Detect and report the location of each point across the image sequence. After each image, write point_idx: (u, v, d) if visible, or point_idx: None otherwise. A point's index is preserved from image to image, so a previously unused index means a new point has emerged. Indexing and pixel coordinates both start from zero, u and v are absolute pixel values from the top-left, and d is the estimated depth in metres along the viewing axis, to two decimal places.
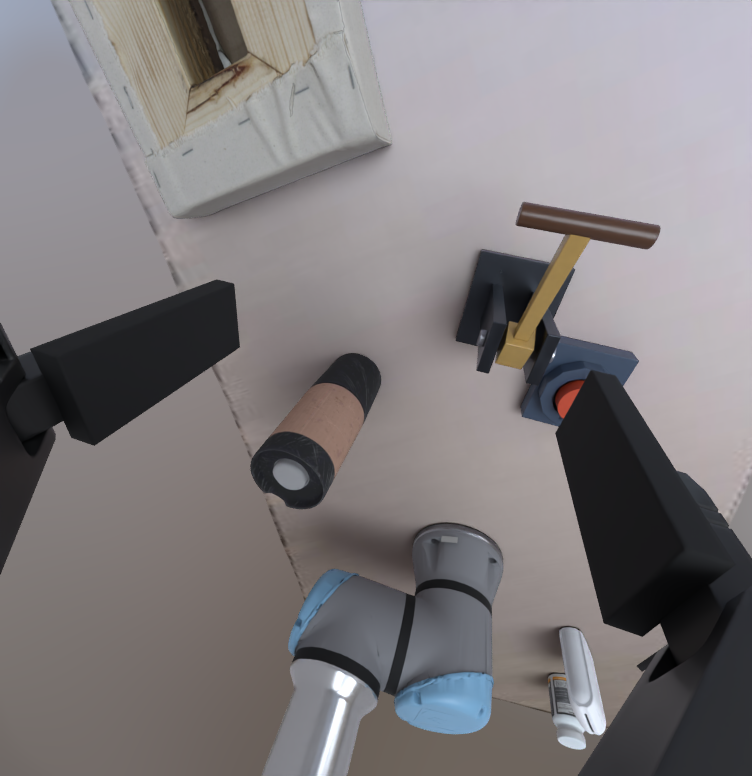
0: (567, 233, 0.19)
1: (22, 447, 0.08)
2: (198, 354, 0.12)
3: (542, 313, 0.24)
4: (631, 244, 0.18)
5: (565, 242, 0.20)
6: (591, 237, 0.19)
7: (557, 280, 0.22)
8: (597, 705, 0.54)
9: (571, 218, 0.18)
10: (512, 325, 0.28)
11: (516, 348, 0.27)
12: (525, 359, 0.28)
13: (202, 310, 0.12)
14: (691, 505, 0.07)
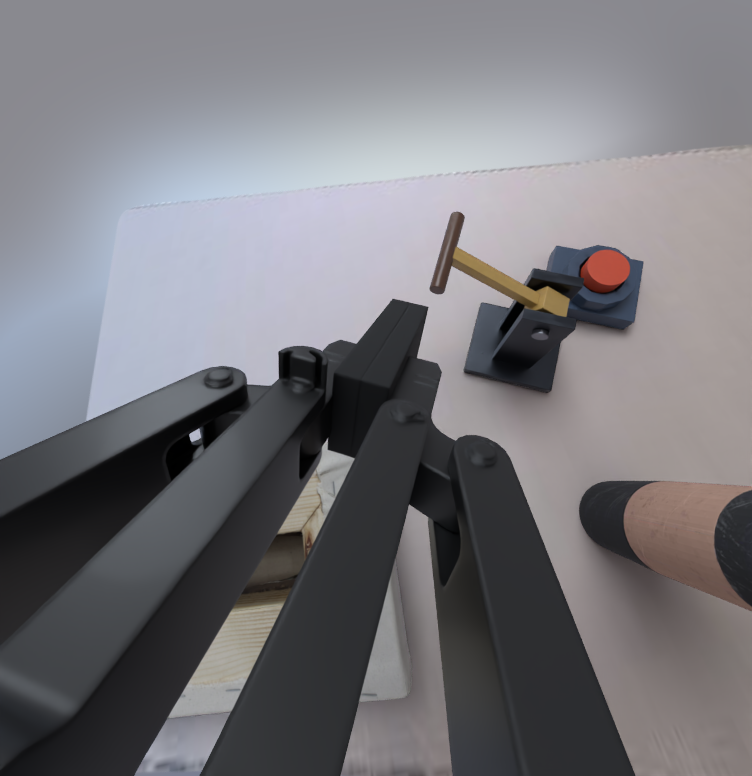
0: (451, 259, 0.28)
1: (298, 472, 0.08)
2: None
3: (512, 280, 0.30)
4: (461, 224, 0.28)
5: (457, 261, 0.28)
6: (455, 245, 0.28)
7: (485, 267, 0.29)
8: None
9: (442, 257, 0.28)
10: None
11: (547, 299, 0.30)
12: (558, 293, 0.31)
13: None
14: (395, 365, 0.10)
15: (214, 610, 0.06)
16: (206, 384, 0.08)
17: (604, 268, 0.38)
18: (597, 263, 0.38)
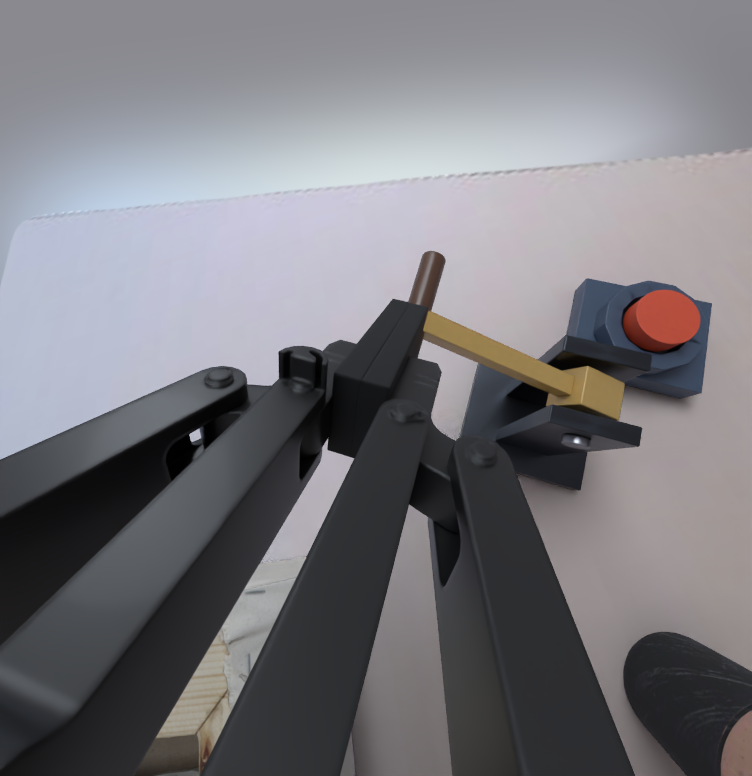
0: None
1: (298, 472, 0.08)
2: None
3: (528, 358, 0.18)
4: (438, 272, 0.17)
5: (432, 336, 0.17)
6: None
7: (481, 342, 0.17)
8: None
9: None
10: (552, 400, 0.20)
11: (588, 388, 0.18)
12: (605, 376, 0.19)
13: None
14: (395, 365, 0.10)
15: (215, 610, 0.06)
16: (206, 384, 0.08)
17: (662, 317, 0.26)
18: (651, 310, 0.26)
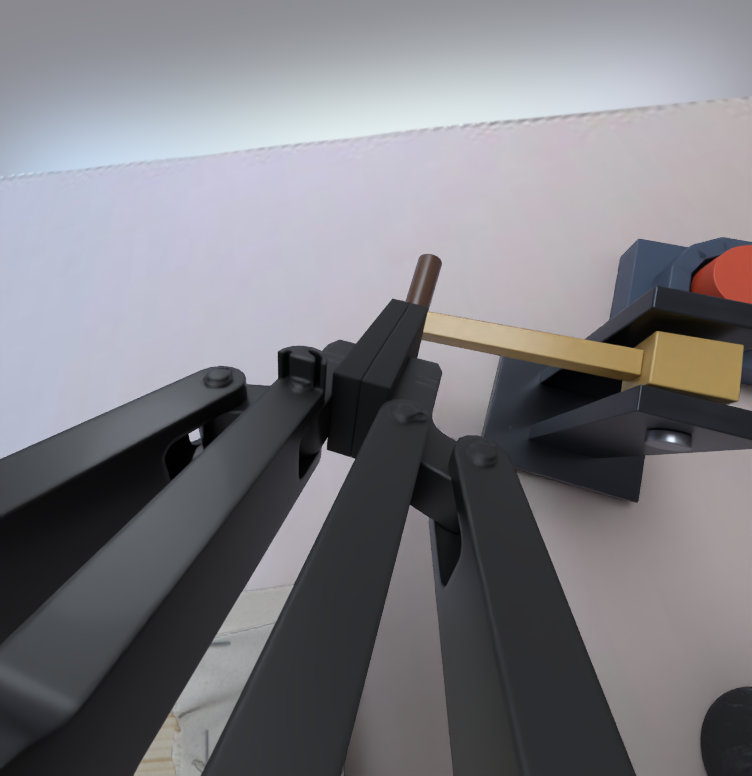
0: None
1: (297, 472, 0.08)
2: None
3: (558, 337, 0.15)
4: (430, 271, 0.17)
5: (427, 334, 0.16)
6: None
7: (487, 330, 0.15)
8: None
9: None
10: (625, 389, 0.15)
11: (662, 360, 0.13)
12: (696, 341, 0.13)
13: None
14: (395, 365, 0.10)
15: (214, 610, 0.06)
16: (205, 384, 0.08)
17: (748, 280, 0.20)
18: (733, 270, 0.20)
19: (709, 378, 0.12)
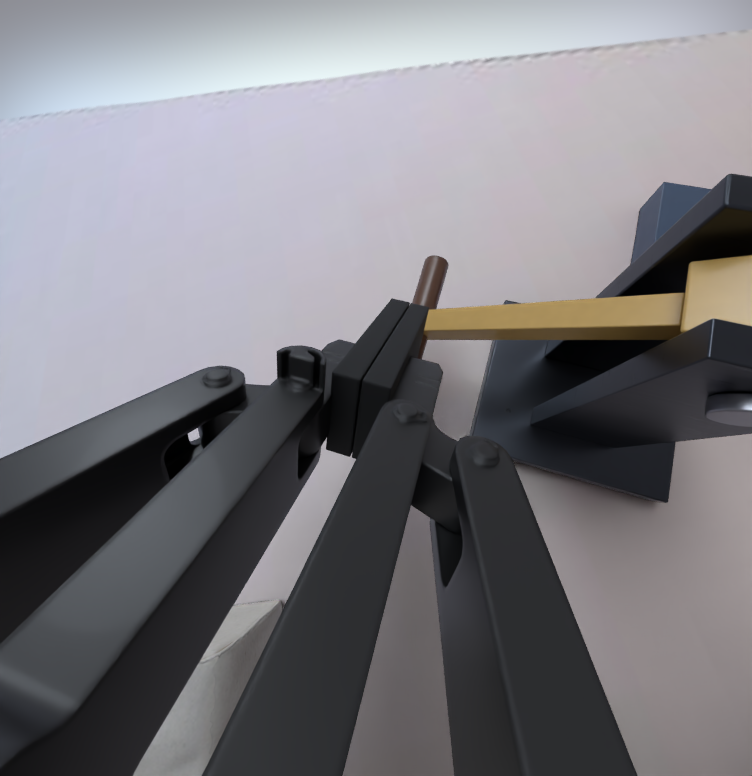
0: None
1: (296, 471, 0.08)
2: None
3: (564, 303, 0.12)
4: (431, 271, 0.17)
5: (428, 331, 0.16)
6: None
7: (484, 314, 0.14)
8: None
9: None
10: None
11: (700, 298, 0.09)
12: None
13: None
14: (396, 365, 0.10)
15: (213, 610, 0.06)
16: (204, 383, 0.08)
17: None
18: None
19: None
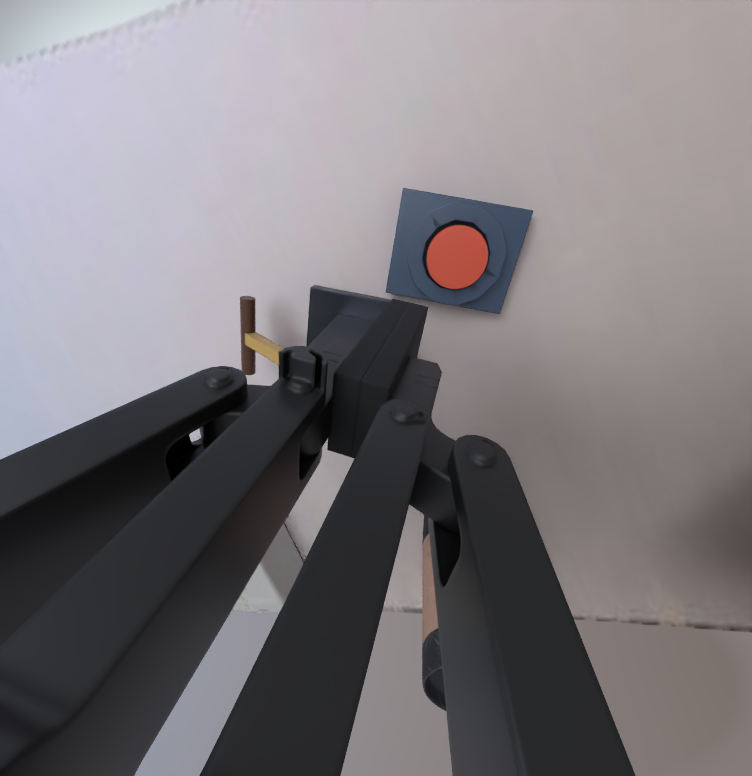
0: (245, 346, 0.30)
1: (298, 472, 0.08)
2: None
3: None
4: (243, 310, 0.29)
5: (250, 346, 0.30)
6: (243, 333, 0.30)
7: (265, 350, 0.28)
8: None
9: None
10: None
11: None
12: None
13: None
14: (395, 365, 0.10)
15: (214, 610, 0.06)
16: (206, 384, 0.08)
17: (450, 260, 0.25)
18: (441, 252, 0.25)
19: None
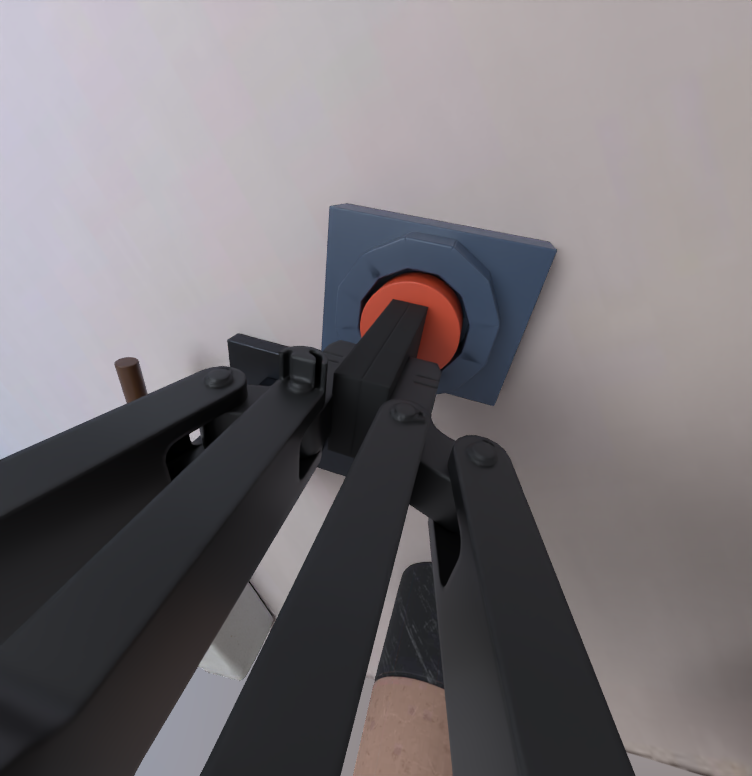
0: None
1: (297, 472, 0.08)
2: None
3: None
4: (120, 379, 0.21)
5: None
6: None
7: None
8: None
9: None
10: None
11: None
12: None
13: None
14: (395, 365, 0.10)
15: (214, 610, 0.06)
16: (206, 384, 0.08)
17: None
18: None
19: None
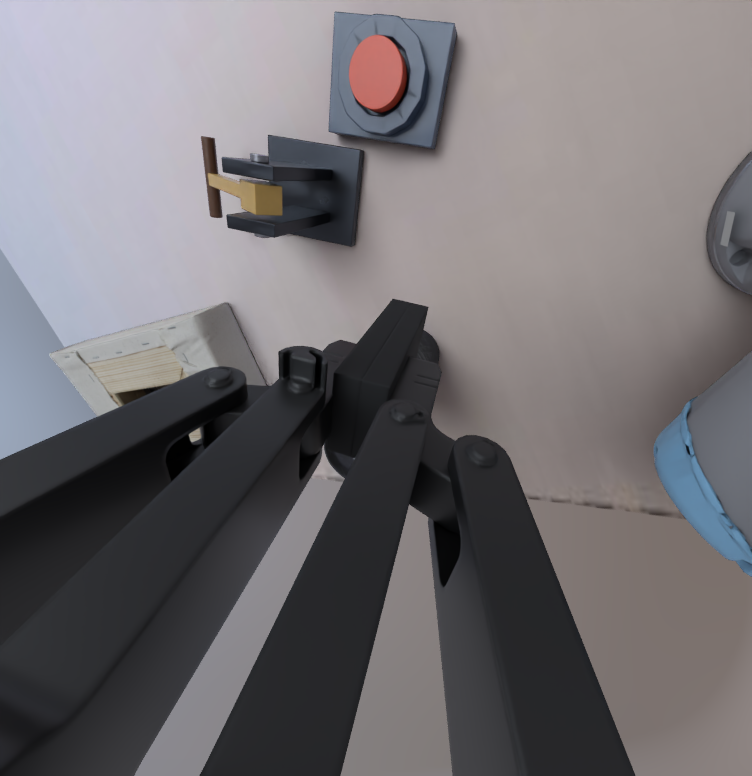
0: (209, 187, 0.35)
1: (298, 472, 0.08)
2: None
3: (232, 183, 0.31)
4: (204, 148, 0.33)
5: (212, 186, 0.35)
6: (206, 172, 0.34)
7: (220, 182, 0.33)
8: None
9: None
10: None
11: (241, 196, 0.29)
12: (246, 183, 0.28)
13: None
14: (395, 365, 0.10)
15: (214, 611, 0.06)
16: (206, 383, 0.08)
17: (370, 77, 0.27)
18: (361, 68, 0.27)
19: (250, 204, 0.28)
